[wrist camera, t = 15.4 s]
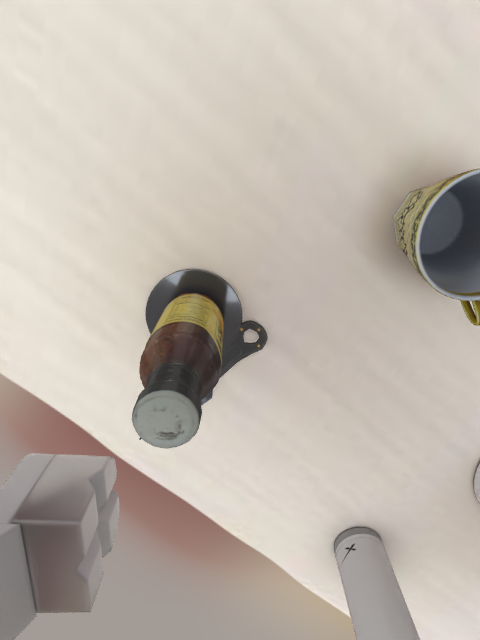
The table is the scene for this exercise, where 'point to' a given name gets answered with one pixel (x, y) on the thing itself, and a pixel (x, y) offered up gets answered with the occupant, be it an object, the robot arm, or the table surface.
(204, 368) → the sauce bottle
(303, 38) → the table surface
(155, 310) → the round mirror
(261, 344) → the throwing knife
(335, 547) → the travel mug
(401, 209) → the ceramic cup
